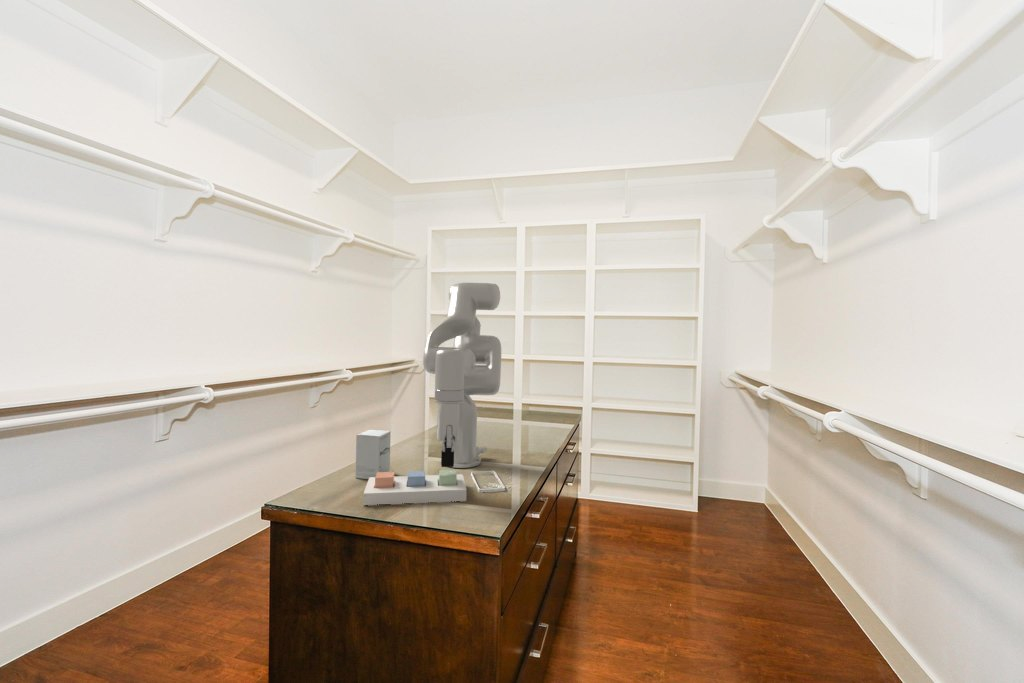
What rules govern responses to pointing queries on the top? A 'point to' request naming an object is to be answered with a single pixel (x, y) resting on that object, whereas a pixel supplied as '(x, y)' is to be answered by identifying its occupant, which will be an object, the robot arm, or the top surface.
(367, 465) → the supplement box
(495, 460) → the top surface
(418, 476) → the button slate
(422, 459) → the top surface
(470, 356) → the robot arm
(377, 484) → the button terracotta
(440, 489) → the button panel
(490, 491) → the white rectangular frame
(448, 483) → the button sage
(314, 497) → the top surface
